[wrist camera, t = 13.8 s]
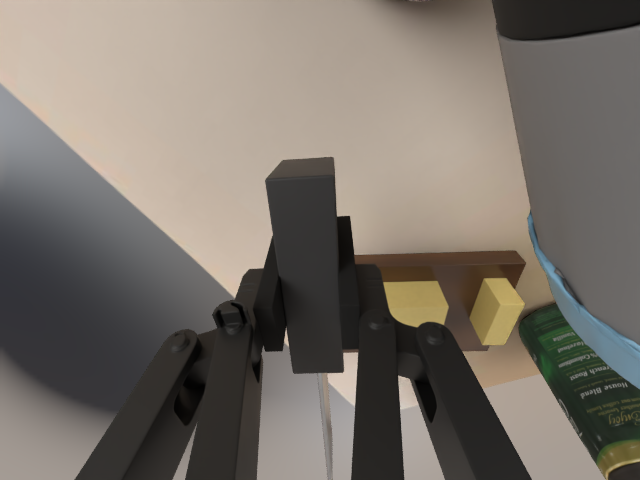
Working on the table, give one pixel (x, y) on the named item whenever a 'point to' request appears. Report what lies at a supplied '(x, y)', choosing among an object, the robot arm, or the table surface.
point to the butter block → (416, 302)
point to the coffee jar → (587, 392)
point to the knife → (309, 271)
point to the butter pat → (495, 311)
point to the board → (451, 281)
